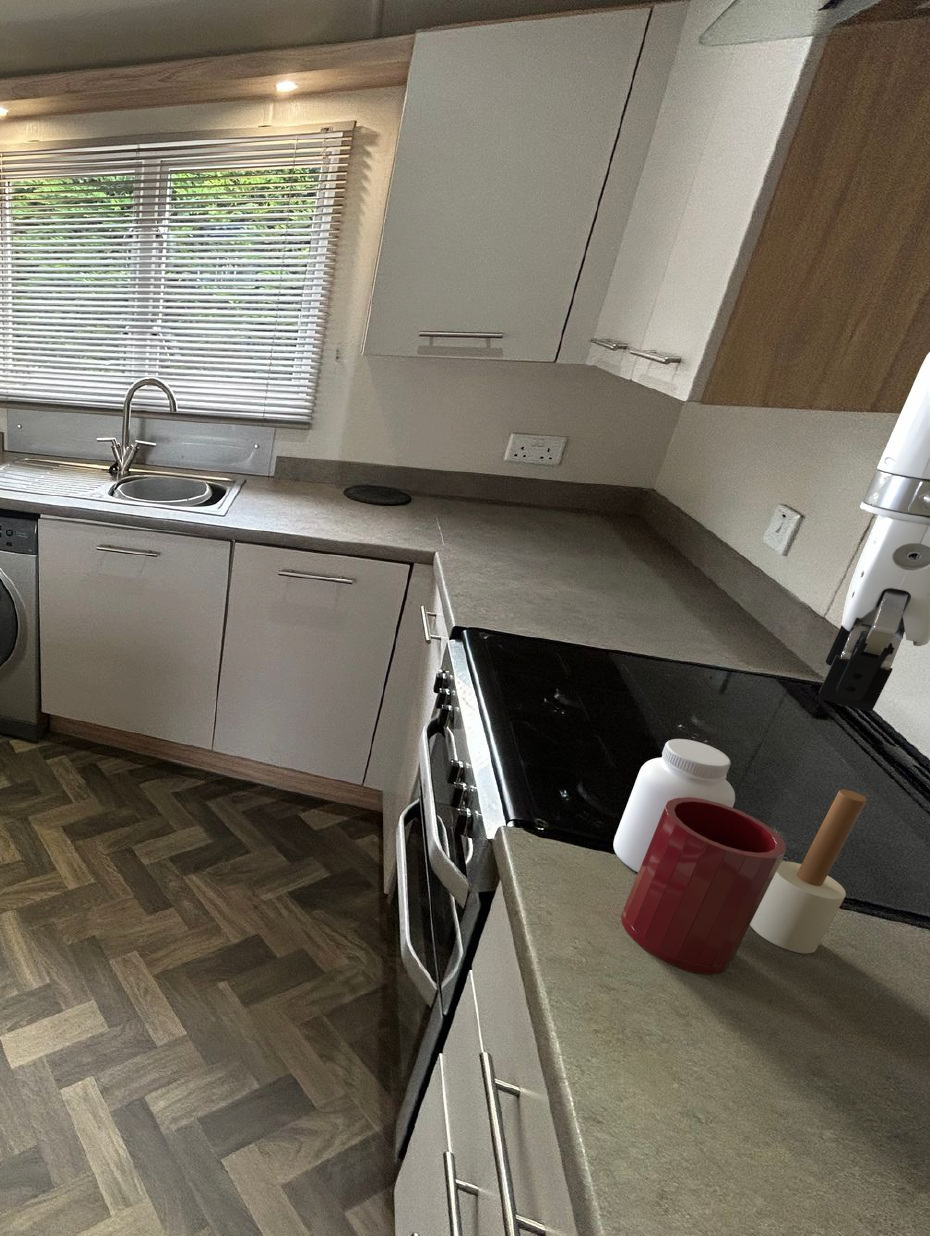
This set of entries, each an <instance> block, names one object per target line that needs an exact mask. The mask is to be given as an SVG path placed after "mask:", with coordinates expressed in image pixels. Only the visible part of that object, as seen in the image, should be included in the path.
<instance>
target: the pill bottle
mask: <svg viewBox="0 0 930 1236" xmlns="http://www.w3.org/2000/svg"><path fill="white" fill-rule="evenodd" d="M661 755H662V756H661V757H655V758H652V759H650V760H647V761H646V762H644V764H643V765H642V766H641V767H640V769H639V772H638V774H637V777H636V779H635V782H634V785H633V788H632V790H631V793H630V795H629V797H628V801H627V803H626V807H625V809H624V811H623V814H622V817H621V819H620V822H619V825H618V828H617V830H616V833H615V835H614V839H613V842H612V843H613V844H612V845H613V850H614V853H615V854H616V856H617V857H618V859H619V860H620V861H621V862H623V864H624V865H625V866H627V867H629V868H630V869H631V870H632V871H635V872H637V873H638V872H639V870H640V867H641V865H642V862H643V860H644V857H645V855H646V852H647V850H648V847H649V845H650V843H651V840H652V838H653V835H654V833H655V830H656V828H657V825H658V823H659V820H660V818H661V815H662V813H663V811H664V808H665V806H666V804H667V802H668V801H670V800H672V799H674V798H682V797H692V798H700V799H705V800H709V801H713V802H717V803H720V804H724V805H726V806H729V807H732V808H734V805H735V802H736V792H735V790H734V788H733V786H732V785H731V783H730V782H729V781H728V780H727V774H728V772H729V769H730V767H731V765H732V764H731V763H732V762H731V759H730V758H729V756H728V755H726V754H725V752H723V751H721V750H719V749H717V748H715V747H713V746H712V745H709V744H706V743H703V742H699V741H695V740H693V739H692V740H691V739H685V738H673V739H670V740H668V741H667V742H665V743H664V747H663V749H662V752H661Z"/></svg>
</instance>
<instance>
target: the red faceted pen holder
mask: <svg viewBox="0 0 930 1236" xmlns="http://www.w3.org/2000/svg"><path fill="white" fill-rule="evenodd" d="M786 851H787V844H786V842H785V841H784V839H783V838H782V837H781V836H780V835H779V833H777V831H775V830H774V829H773V828H771V827H770V826H768V825H767V824H765V823H764V822H762V821H761V820H759V819H757V818H756V817H754V816H752V815H750V814H747V813H746V812H744V811H742V810H739V809H737V808H734V807H729V806H726V805H724V804H720V803H717V802H713V801H709V800H705V799H700V798H692V797H682V798H674V799H672V800H670V801H668V802H667V804H666V806H665V808H664V811H663V813H662V815H661V818H660V820H659V823H658V825H657V828H656V830H655V833H654V835H653V838H652V840H651V843H650V845H649V847H648V850H647V852H646V855H645V857H644V860H643V862H642V865H641V867H640V870H639V872H637V875H636V878H635V880H634V882H633V885H632V887H631V890H630V892H629V894H628V896H627V897H628V898H627V899H626V902H625V905H624V907H623V909H622V913H621V917H620V919H621V923H622V926H623V928H624V929H625V931H626V933H627V934H628V935H629V936H630V937H631V939H633V941H635V942H636V944H638V945H639V946H640V947H641V948H642V949H644V950H645V951H647V952H648V953H650V954H652V955H653V956H654V957H656V958H657V959H660V960H662V961H663V962H665V963H668V964H669V965H672V966H674V967H676V968H679V969H682V970H685V971H688V972H691V973H696V974H702V975H717V974H721V973H723V972H725V971H726V970H727V969H729V967H730V965H731V962H732V961H733V960H734V958H735V956H736V954H737V951H738V950H739V948H740V945H741V943H742V941H743V939H744V937H745V935H746V933H747V931H748V930H749V927H750V926H751V925H750V923H751V921H752V919H753V917H754V915H755V913H756V911H757V909H758V907H759V905H760V903H761V901H762V899H763V897H764V895H765V893H766V891H767V889H768V887H769V885H770V883H771V881H772V879H773V877H774V875H775V873H776V871H777V869H778V867H779V865H780V863H781V862H782V861H783V858H784V857H785V854H786Z"/></svg>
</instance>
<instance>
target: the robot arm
mask: <svg viewBox="0 0 930 1236" xmlns="http://www.w3.org/2000/svg"><path fill="white" fill-rule="evenodd" d="M859 508H860V509H861V510H863V511H865V512H867V513H870V514H874V515H877V517H876V519H875V521H874V524H873V526H872V527H871V530H870V533H869V535H868V538H867V540H866V542H865V545H864V547H863V549H862V551H861V554H860V557H859V559H858V562H857V564H856V565H855V569H854V572H853V575H852V577H851V580H850V584H849V587H848V590H847V593H846V597H845V601H844V605H843V612H842V619H841V625H840V628H839V630H838V632H837V634H836V637H835V639H834V641H833V643H832V645H831V647H830V650H829V651H828V654H827V656H826V658H825V664H826V665H828V666H830V668H829V670H828V672H827V675H826V676H825V679H824V680H823V682H822V685H821V687H820V688H819V691H818V698H819V699H821V700H823V701H826V702H830V703H833V704H834V703H835V704H837V705H842V706H843V707H844V706H845V707H849V708H851V709H856V710H860V711H864V712H871V711H873V710H874V709H875V706H876V705H877V703H878V700H879V698H880V696H881V694H882V692H883V690H884V688H885V686H886V684H887V682H888V680H889V678H890V676H891V674H892V672H893V667H892V666H893V663H894V660H895V658H896V655H897V652H898V651H899V647H900V646H901V643H902V640H903V639H904V635H905V640H906V641H910V642H912V645H913V646H914V647H922V646H925V645H927V644H929V642H930V351H929V352H928V353H927V355H926V356H925V358H924V360H923V362H922V364H921V366H920V367H919V371H918V373H917V375H916V378H915V380H914V382H913V384H912V387H911V389H910V392H909V394H908V396H907V398H906V401H905V403H904V405H903V407H902V410H901V412H900V414H899V416H898V419H897V422H896V423H895V426H894V427H893V429H892V432H891V435H890V437H889V439H888V442H887V444H886V446H885V448H884V450H883V452H882V455H881V457H880V460H879V462H878V465H877V467H876V469H875V472H874V474H873V475H872V478H871V481H870V482H869V485H868V488H867V490H866V491H865V494H864V497H863V499H862V501H861V503H860V505H859Z"/></svg>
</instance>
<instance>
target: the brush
mask: <svg viewBox="0 0 930 1236" xmlns="http://www.w3.org/2000/svg"><path fill="white" fill-rule="evenodd" d="M867 802H868V800H867V797H865V795H862V794H861V793H858V792H856V791H852V790H848V789H840V790H838V792H837V794H836V795H835V798H834V800H833V801H832V803H831V806H830V808H829V810H828V812H827V813H826V815H825V818H824V819H823V821H822V824H821V826H820V827H819V829H818V831H817V833H816V835H815V837H814V839H813V842H811V845H810V847H809V849H808V851H807V853H806V854H805V856H804V859H803V860H802V863H798V862H794V861H783V860H782V861H781V863H780V865H779V867H778V869H777V871H776V873H775V875H774V877H773V879H772V881H771V883H770V885H769V887H768V889H767V891H766V893H765V895H764V897H763V899H762V901H761V903H760V905H759V907H758V909H757V911H756V913H755V915H754V917H753V919H752V921H751V923H750V925H749V926H750V928H752V929H753V930H754V932H756V934H758V935H759V936H760V937H762V939H765V940H767V942H769V943H771V944H773V945H775V946H778V947H780V948H782V949H785V950H787V951H790V952H793V953H798V954H805V955H806V954H812V953H815V952H816V950H817V949H818V947H819V945H820V943H821V942H822V940H823V938H824V936H825V934H826V933H827V931H828V929H829V927H830V925H831V924H832V921H833V920H834V918H835V916H836V915H837V913H838V910H839V909H840V907H841V905H842V903H843V902H844V900H845V899H846V896H847V893H846V890H845V888H844V887H843V886H842V885H841V884H840V883H839V882H838V881H837V880H836V879H833V878H832V877H831V876H829V873H830V872H831V870H832V868H833V866H834V864H835V862H836V861H837V858H838V856H839V855H840V853H841V852H842V851H841V850H842V849H843V847H844V846H845V843H846V842H847V840H848V838H849V835H850V834H851V832H852V830H853V828H854V826H855V824H856V822H857V821H858V818H859V817H860V816H861V813H862V811H863V810H864V807H865V805H866V804H867Z"/></svg>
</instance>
